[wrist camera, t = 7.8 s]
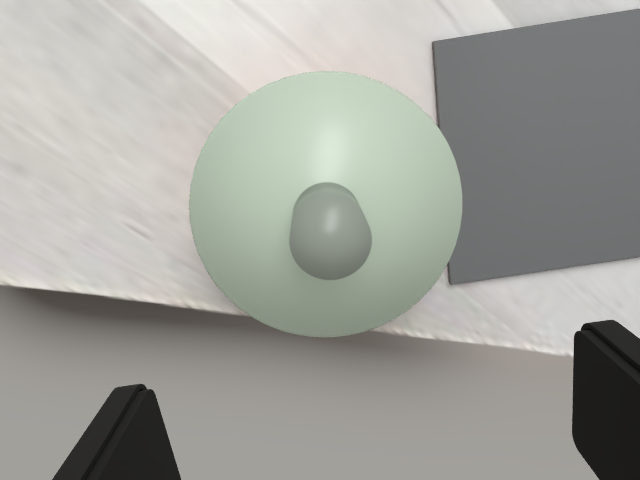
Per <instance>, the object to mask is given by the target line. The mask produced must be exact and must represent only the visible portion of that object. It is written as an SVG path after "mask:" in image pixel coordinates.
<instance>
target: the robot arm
mask: <svg viewBox="0 0 640 480" xmlns="http://www.w3.org/2000/svg"><path fill="white" fill-rule="evenodd" d="M572 435H573V440H574V443H575V445H576V447H577V449H578V451H579V452H580V453H581V455H582V456H583V458H584V459H585V461H586V462H587V463H588V465H589V466H590V467H591V469H592V470H593V471H594V472H595V474H596V475H597V477H598V478H599V480H640V339H639V338H638V337H636V336H635V335H634V334H633V333H631V332H630V331H629V330H627V329H626V328H625V327H623V326H622V325H621V324H619V323H618V322H616V321H614V320H606V321H599V322H592V323H585V324H584V325H583V326H582V328H581V331H577V332H576V333H575V335H574V368H573V417H572ZM52 480H181V478H180V474H179V471H178V468H177V464H176V461H175V458H174V454H173V451H172V448H171V445H170V442H169V438H168V435H167V431H166V428H165V425H164V422H163V418H162V415H161V412H160V408H159V405H158V402H157V399H156V395H155V393H154V391H153V390H151V389H149V390H147V389H146V387H145V385H143V384H137V385H129V386H122V387H117V388H115V389H114V390H113V391H112V393H111V394H110V396H109V397H108V398H107V400H106V402H105V403H104V404H103V406H102V407H101V409H100V410H99V412H98V413H97V415H96V416H95V418H94V419H93V421H92V422H91V424H90V425H89V426H88V428H87V429H86V431H85V432H84V434H83V435H82V437H81V438H80V440H79V441H78V443H77V444H76V446H75V447H74V449H73V450H72V451H71V453H70V454H69V456H68V457H67V459H66V460H65V462H64V463H63V465H62V466H61V468H60V469H59V470H58V472H57V473H56V475H55V476H54V478H53V479H52Z"/></svg>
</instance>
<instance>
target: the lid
mask: <svg viewBox="0 0 640 480" xmlns="http://www.w3.org/2000/svg"><path fill="white" fill-rule="evenodd" d="M189 210H190V223H191V229H192V234H193V239H194V242H195V245H196V248H197V251H198V254H199V256H200V258H201V260H202V262H203V264H204V267H205V269H206V270H207V272H208V273H209V275H210V276H211V278H212V280H213V281H214V283H215V284H216V285H217V286H218V287H219V289H220V290H221V291H222V292H223V293H224V295H225V296H226V297H227V298H229V299H230V300H231V301H232V302H233V303H234V304H235V305H236V306H237V307H239V308H240V309H241V310H243V311H244V312H245V313H247V314H248V315H250V316H251V317H253V318H255V319H257V320H258V321H260V322H262V323H264V324H266V325H268V326H271V327H274V328H276V329H278V330H281V331H285V332H288V333H292V334H296V335H303V336H309V337H339V336H347V335H352V334H357V333H362V332H365V331H367V330H371V329H374V328H377V327H379V326H381V325H383V324H385V323H387V322H389V321H391V320H393V319H395V318H396V317H398V316H400V315H401V314H403V313H404V312H406V311H407V310H408V309H410V308H411V307H412V306H413V305H415V304H416V303H417V302H418V301H419V300H420V299H421V298H422V297H423V296H424V295H425V294H426V293H427V292H428V291H429V290H430V289H431V288H432V286H433V285H434V284H435V282H436V281H437V280H438V278H439V277H440V276H441V274H442V272H443V271H444V269H445V267H446V265H447V264H448V262H449V260H450V257H451V255H452V253H453V250H454V248H455V245H456V242H457V238H458V234H459V231H460V225H461V218H462V188H461V181H460V175H459V172H458V168H457V164H456V161H455V158H454V156H453V154H452V151H451V149H450V147H449V144H448V142H447V141H446V139H445V137H444V136H443V134H442V132H441V131H440V129H439V128H438V126H437V125H436V124H435V123H434V122H433V120H432V119H431V118H430V117H429V115H428V114H427V113H426V112H425V111H424V110H423V109H421V108H420V107H419V106H418V105H417V104H416V103H415V102H414V101H413V100H411V99H410V98H408V97H407V96H405V95H404V94H402V93H401V92H400V91H398V90H396V89H394V88H392V87H390V86H388V85H386V84H384V83H382V82H380V81H377V80H374V79H371V78H368V77H365V76H362V75H357V74H351V73H346V72H333V71H320V72H309V73H302V74H298V75H294V76H289V77H285V78H283V79H280V80H278V81H275V82H272V83H270V84H267V85H265V86H264V87H262V88H260V89H258V90H257V91H255V92H253V93H251V94H250V95H248V96H247V97H246V98H244V99H243V100H242V101H240V102H239V103H238V104H236V105H235V106H234V107H233V108H232V109H231V110H230V111H229V112H228V113H227V114H226V115H225V116H224V117H223V118H222V119H221V121H220V122H219V123H218V125H217V126H216V127H215V129H214V130H213V131H212V133H211V134H210V136H209V138H208V139H207V141H206V143H205V145H204V147H203V148H202V150H201V153H200V155H199V158H198V161H197V163H196V166H195V169H194V173H193V178H192V182H191V188H190V199H189Z"/></svg>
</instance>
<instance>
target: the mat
mask: <svg viewBox="0 0 640 480" xmlns="http://www.w3.org/2000/svg"><path fill="white" fill-rule="evenodd" d="M432 45H433V59H434V73H435V87H436V102H437V116H438V128H439V129H440V131H441V132H442V134H443V136H444V137H445V139H446V141H447V142H448V144H449V147H450V149H451V151H452V154H453V156H454V158H455V161H456V164H457V168H458V172H459V175H460V181H461V188H462V218H461V225H460V231H459V234H458V238H457V242H456V245H455V248H454V250H453V253H452V255H451V257H450V260H449V262H448V272H449V283H450V284H451V285H453V284H460V283H466V282H473V281H480V280H487V279H494V278H500V277H507V276H514V275H521V274H528V273H534V272H541V271H548V270H555V269H561V268H568V267H575V266H582V265H589V264H595V263H602V262H609V261H616V260H623V259H629V258H636V257H640V9H634V10H628V11H622V12H616V13H609V14H603V15H597V16H590V17H584V18H578V19H571V20H565V21H559V22H552V23H546V24H540V25H534V26H527V27H521V28H515V29H508V30H502V31H496V32H489V33H483V34H477V35H471V36H464V37H458V38H452V39H445V40H439V41H434V42H432Z"/></svg>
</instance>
